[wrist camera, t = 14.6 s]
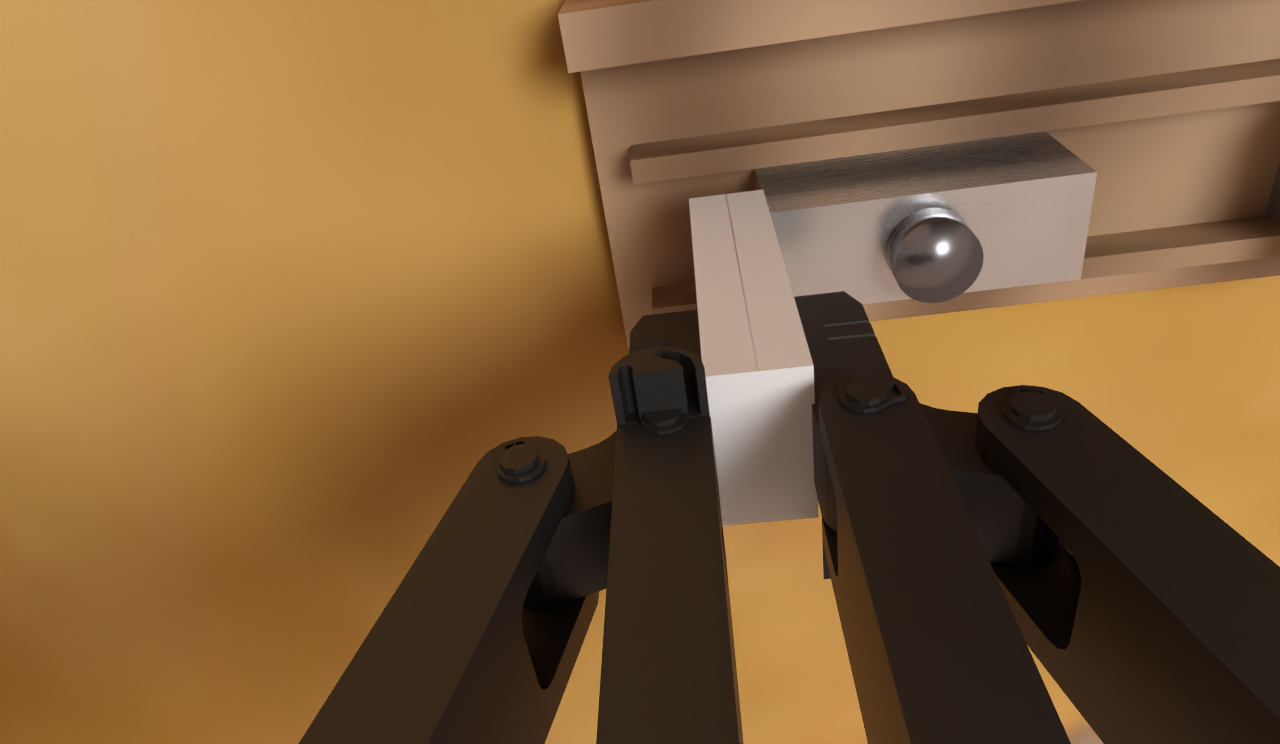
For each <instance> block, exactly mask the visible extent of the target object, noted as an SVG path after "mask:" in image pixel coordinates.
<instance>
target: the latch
mask: <svg viewBox="0 0 1280 744" xmlns="http://www.w3.org/2000/svg"><path fill="white" fill-rule="evenodd" d="M1096 177H1097V171H1095V170H1094V169H1093V168H1091V167H1090V166H1089V165H1088V164H1086V163H1085V162H1084V161H1083V160H1081V159H1080V158H1079V157H1077V156H1076V155H1075V154H1074V153H1072V152H1071V151H1070V150H1069V149H1067V148H1066V147H1065V146H1063V145H1062V144H1061V143H1060V142H1058V141H1057V140H1056V139H1055V138H1053V137H1052V136H1051V135H1049V134H1048V133H1047V132H1046V131H1043V132H1035V133H1028V134H1020V135H1012V136H1004V137H997V138H989V139H981V140H973V141H966V142H958V143H950V144H942V145H935V146H927V147H919V148H912V149H904V150H896V151H888V152H881V153H873V154H865V155H857V156H850V157H842V158H834V159H827V160H819V161H811V162H803V163H796V164H788V165H780V166H772V167H765V168H757V169H755V178H756V190H763V191H764V194H765V198H766V201H767V205H768V208H769V212H770V215H771V219H772V222H773V226H774V229H775V233H776V236H777V240H778V243H779V247H780V250H781V254H782V257H783V261H784V264H785V267H786V271H787V274H788V278H789V281H790V285H791V288H792V292H793V295H794V297H796V296H805V295H814V294H823V293H832V292H841V291H844V292H846V293H847V294H849V295H850V296H851V297H853V298H854V299H856V300H857V301H859V302H860V303H861V304H870V303H879V302H888V301H896V300H905V299H914V300H916V301H919V302H924V303H940V302H944V301H948V300H951V299H953V298H955V297H957V296H959V295H960V294H962V293H966V292H975V291H984V290H992V289H1001V288H1010V287H1019V286H1027V285H1036V284H1045V283H1054V282H1062V281H1071V280H1080V279H1081V274H1082V268H1083V261H1084V255H1085V248H1086V242H1087V235H1088V229H1089V222H1090V216H1091V209H1092V203H1093V196H1094V190H1095V183H1096Z"/></svg>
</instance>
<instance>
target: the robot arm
mask: <svg viewBox="0 0 1280 744" xmlns="http://www.w3.org/2000/svg"><path fill="white" fill-rule="evenodd" d="M689 207H690V220H691V232H692V245H693V257H694V270H695V282H696V295H697V308H698V310H689V311H680V312H671V313H662V314H653V315H644V316H642V317H641V318H640V320H639V321H638V322H637V324H636V325H635V326H634V327H633V329H632V330H631V331H630V346H629V349H630V351H629V355H627V356H625V357H623V358H622V359H621V360H619V361H618V362H617V363H616V364H615V365H614V366H613V367H612V369H611V372H610V374H609V382H610V387H611V393H612V398H613V403H614V409H615V414H616V419H617V431H615V432H614V433H613V434H612V435H611V436H610V437H608V438H607V439H605V440H603V441H602V442H600V443H599V444H596V445H594V446H591V447H589V448H586V449H583V450H580V451H577V452H574V453H570V454H567V452H566V450H565V448H564V446H562V445H561V444H559V443H558V442H556V441H555V440H553V439H549V438H544V437H538V436H536V437H522V438H518V439H514V440H511V441H508V442H505V443H502V444H500V445H499V446H497V447H495V448H494V449H492V450H490V451H488V452H487V453H486V454H485V455H484V457H483V458H482V459H481V460H480V461H479V462H478V463H477V465H476V466H475V468H474V469H473V471H472V472H471V474H470V475H469V477H468V479H467V480H466V482H465V483H464V485H463V486H462V488H461V490H460V491H459V493H458V494H457V496H456V497H455V499H454V501H453V502H452V504H451V505H450V507H449V508H448V510H447V512H446V513H445V515H444V516H443V518H442V519H441V521H440V523H439V524H438V526H437V527H436V529H435V530H434V532H433V534H432V535H431V537H430V538H429V540H428V541H427V543H426V545H425V546H424V548H423V549H422V551H421V552H420V554H419V556H418V557H417V559H416V560H415V562H414V563H413V565H412V567H411V568H410V570H409V571H408V573H407V574H406V576H405V578H404V579H403V581H402V582H401V584H400V585H399V587H398V589H397V590H396V592H395V593H394V595H393V596H392V598H391V600H390V601H389V603H388V604H387V606H386V607H385V609H384V611H383V612H382V614H381V615H380V617H379V618H378V620H377V621H376V623H375V625H374V626H373V628H372V629H371V631H370V632H369V634H368V636H367V637H366V639H365V640H364V642H363V643H362V645H361V647H360V648H359V650H358V651H357V653H356V654H355V656H354V658H353V659H352V661H351V662H350V664H349V665H348V667H347V669H346V670H345V672H344V673H343V675H342V676H341V678H340V680H339V681H338V683H337V684H336V686H335V687H334V689H333V691H332V692H331V694H330V695H329V697H328V698H327V700H326V702H325V703H324V705H323V706H322V708H321V709H320V711H319V713H318V714H317V716H316V717H315V719H314V720H313V722H312V724H311V725H310V727H309V728H308V730H307V731H306V733H305V735H304V736H303V738H302V739H301V741H300V742H299V744H545V741H546V738H547V736H548V733H549V730H550V728H551V725H552V723H553V720H554V717H555V715H556V712H557V709H558V707H559V704H560V702H561V699H562V696H563V694H564V691H565V688H566V686H567V683H568V681H569V678H570V675H571V673H572V670H573V667H574V665H575V662H576V659H577V657H578V654H579V652H580V649H581V646H582V644H583V641H584V638H585V636H586V633H587V631H588V628H589V625H590V623H591V620H592V617H593V615H594V612H595V610H596V607H597V604H598V598H599V591H601V590H603V589H606V588H607V590H606V605H605V621H604V636H603V651H602V666H601V681H600V696H599V712H598V727H597V742H596V744H743V735H742V724H741V713H740V703H739V692H738V682H737V671H736V660H735V650H734V639H733V628H732V618H731V607H730V597H729V586H728V575H727V565H726V554H725V545H724V536H723V527H722V526H724V525H735V524H747V523H758V522H770V521H781V520H793V519H804V518H815V517H818V501H819V505H820V509H821V513H822V535H823V569H824V579H830V578H831V581H832V585H833V590H834V594H835V599H836V603H837V607H838V612H839V616H840V621H841V625H842V630H843V634H844V638H845V643H846V647H847V652H848V656H849V661H850V665H851V670H852V674H853V678H854V683H855V687H856V692H857V696H858V701H859V705H860V710H861V714H862V718H863V723H864V727H865V732H866V736H867V741H868V744H1071V743H1070V741H1069V738H1068V736H1067V734H1066V732H1065V729H1064V727H1063V725H1062V723H1061V720H1060V718H1059V716H1058V714H1057V711H1056V709H1055V707H1054V705H1053V702H1052V700H1051V698H1050V696H1049V693H1048V691H1047V689H1046V687H1045V684H1044V682H1043V680H1042V678H1041V675H1040V673H1039V671H1038V669H1037V667H1036V664H1035V662H1034V660H1033V658H1032V655H1031V653H1030V651H1029V649H1028V646H1029V648H1030V649H1031V650H1032V652H1033V653H1034V654H1035V655H1036V657H1037V658H1038V659H1039V661H1040V662H1041V663H1042V664H1043V666H1044V667H1045V668H1046V670H1047V671H1048V672H1049V673H1050V675H1051V676H1052V677H1053V679H1054V680H1055V681H1056V682H1057V684H1058V685H1059V686H1060V688H1061V689H1062V690H1063V692H1064V693H1065V694H1066V695H1067V697H1068V698H1069V699H1070V701H1071V702H1072V703H1073V704H1074V706H1075V707H1076V708H1077V710H1078V711H1079V712H1080V713H1081V715H1082V716H1083V717H1084V719H1085V720H1086V721H1087V722H1088V724H1089V725H1090V726H1091V728H1092V729H1093V730H1094V731H1095V733H1096V734H1097V735H1098V737H1099V738H1100V739H1101V740H1102V742H1103V743H1104V744H1280V567H1279V566H1278V565H1277V564H1275V563H1274V562H1273V561H1272V560H1270V559H1269V558H1268V557H1267V556H1266V555H1264V554H1263V553H1262V552H1261V551H1259V550H1258V549H1257V548H1256V547H1255V546H1253V545H1252V544H1251V543H1250V542H1248V541H1247V540H1246V539H1245V538H1244V537H1242V536H1241V535H1240V534H1239V533H1237V532H1236V531H1235V530H1234V529H1233V528H1231V527H1230V526H1229V525H1228V524H1226V523H1225V522H1224V521H1223V520H1222V519H1220V518H1219V517H1218V516H1217V515H1215V514H1214V513H1213V512H1212V511H1211V510H1209V509H1208V508H1207V507H1206V506H1204V505H1203V504H1202V503H1201V502H1200V501H1198V500H1197V499H1196V498H1195V497H1193V496H1192V495H1191V494H1190V493H1189V492H1187V491H1186V490H1185V489H1184V488H1182V487H1181V486H1180V485H1179V484H1178V483H1176V482H1175V481H1174V480H1173V479H1172V478H1170V477H1169V476H1168V475H1167V474H1165V473H1164V472H1163V471H1162V470H1161V469H1159V468H1158V467H1157V466H1156V465H1154V464H1153V463H1152V462H1151V461H1150V460H1148V459H1147V458H1146V457H1145V456H1143V455H1142V454H1141V453H1140V452H1139V451H1137V450H1136V449H1135V448H1134V447H1132V446H1131V445H1130V444H1129V443H1128V442H1126V441H1125V440H1124V439H1123V438H1121V437H1120V436H1119V435H1118V434H1117V433H1115V432H1114V431H1113V430H1112V429H1110V428H1109V427H1108V426H1107V425H1106V424H1104V423H1103V422H1102V421H1101V420H1099V419H1098V418H1097V417H1096V416H1095V415H1093V414H1092V413H1091V412H1090V411H1088V410H1087V409H1086V408H1085V407H1084V406H1082V405H1081V404H1080V403H1079V402H1077V401H1076V400H1074V399H1072V398H1070V397H1069V396H1067V395H1065V394H1064V393H1061V392H1058V391H1055V390H1051V389H1048V388H1044V387H1037V386H1025V385H1020V386H1012V387H1004V388H1001V389H998V390H996V391H993V392H991V393H988V394H987V395H986V396H985V397H984V398H983V399H982V400H981V401H980V402H979V407H978V413H968V412H958V411H949V410H943V409H937V408H933V407H930V406H926V405H923V404H920V403H919V402H918V400H917V397H916V395H915V393H914V392H913V391H912V390H911V389H910V387H909V386H908V385H907V384H905V383H903V382H901V381H899V380H898V379H896V378H894V377H893V375H892V373H891V371H890V368H889V366H888V364H887V361H886V359H885V357H884V354H883V352H882V350H881V347H880V345H879V343H878V340H877V338H876V337H875V333H874V331H873V328H872V326H871V324H870V323H869V319H868V317H867V314H866V312H865V310H864V307H863V305H862V304H861V303H860V302H859V301H857V300H856V299H854V298H853V297H851V296H850V295H849V294H847V293H846V292H844V291H841V292H832V293H823V294H814V295H805V296H796V297H794V295H793V292H792V288H791V285H790V281H789V278H788V274H787V271H786V267H785V264H784V261H783V257H782V254H781V250H780V247H779V243H778V240H777V236H776V233H775V229H774V226H773V222H772V219H771V215H770V212H769V208H768V205H767V201H766V198H765V194H764V191H763V190H755V191H747V192H739V193H730V194H722V195H714V196H706V197H698V198H689ZM1027 645H1028V646H1027Z"/></svg>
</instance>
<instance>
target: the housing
mask: <svg viewBox="0 0 1280 744" xmlns="http://www.w3.org/2000/svg"><path fill="white" fill-rule="evenodd" d="M558 18H559V24H560V30H561V35H562V41H563V46H564V52H565V57H566V63H567V69H568V73H573V72H580V73H581V79H582V85H583V91H584V97H585V102H586V108H587V114H588V120H589V126H590V131H591V137H592V143H593V149H594V155H595V161H596V166H597V172H598V178H599V184H600V190H601V195H602V201H603V207H604V213H605V219H606V224H607V230H608V236H609V242H610V248H611V253H612V259H613V265H614V271H615V277H616V283H617V288H618V294H619V300H620V306H621V312H622V317H623V323H624V329H625V335H626V341H627V346H628V349H629V346H630V331H631V330H632V329H633V327H634V326H635V325H636V324H637V322H638V321H639V320H640V318H641V317H642V316H644V315H653V314H662V313H671V312H680V311H689V310H698V308H697V295H696V282H695V270H694V257H693V245H692V232H691V220H690V207H689V198H698V197H706V196H714V195H722V194H730V193H739V192H747V191H755V190H756V178H755V169H757V168H765V167H772V166H780V165H788V164H796V163H803V162H811V161H819V160H827V159H834V158H842V157H850V156H857V155H865V154H873V153H881V152H888V151H896V150H904V149H912V148H919V147H927V146H935V145H942V144H950V143H958V142H966V141H973V140H981V139H989V138H997V137H1004V136H1012V135H1020V134H1028V133H1035V132H1043V131H1046V132H1047V133H1048V134H1049V135H1051V136H1052V137H1053V138H1055V139H1056V140H1057V141H1058V142H1060V143H1061V144H1062V145H1063V146H1065V147H1066V148H1067V149H1069V150H1070V151H1071V152H1072V153H1074V154H1075V155H1076V156H1077V157H1079V158H1080V159H1081V160H1083V161H1084V162H1085V163H1086V164H1088V165H1089V166H1090V167H1091V168H1093V169H1094V170H1095V171H1097V177H1096V183H1095V190H1094V196H1093V203H1092V209H1091V216H1090V222H1089V229H1088V235H1087V242H1086V248H1085V255H1084V261H1083V268H1082V274H1081V279H1080V280H1071V281H1062V282H1054V283H1045V284H1036V285H1027V286H1019V287H1010V288H1001V289H992V290H984V291H975V292H966V293H962V294H960V295H959V296H957V297H955V298H953V299H951V300H948V301H944V302H940V303H924V302H919V301H916V300H914V299H905V300H896V301H888V302H879V303H870V304H862V305H863V307H864V310H865V312H866V314H867V317H868V319H869V321H878V320H887V319H895V318H904V317H913V316H922V315H931V314H940V313H949V312H958V311H966V310H975V309H984V308H993V307H1002V306H1011V305H1020V304H1029V303H1037V302H1046V301H1055V300H1064V299H1073V298H1082V297H1091V296H1100V295H1108V294H1117V293H1126V292H1135V291H1144V290H1153V289H1162V288H1171V287H1180V286H1188V285H1197V284H1206V283H1215V282H1224V281H1233V280H1242V279H1251V278H1259V277H1268V276H1277V275H1280V0H565V1H564V3H563V5H562V7H561V9H560V11H559V13H558Z"/></svg>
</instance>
